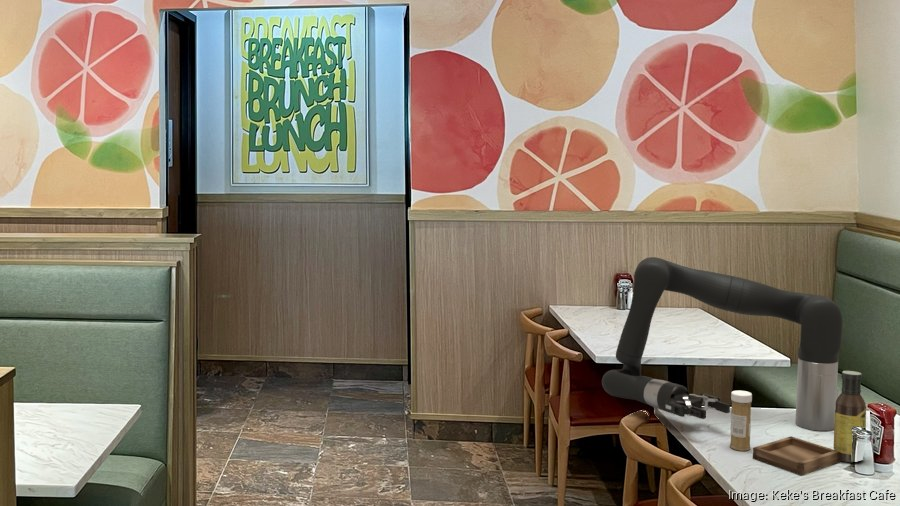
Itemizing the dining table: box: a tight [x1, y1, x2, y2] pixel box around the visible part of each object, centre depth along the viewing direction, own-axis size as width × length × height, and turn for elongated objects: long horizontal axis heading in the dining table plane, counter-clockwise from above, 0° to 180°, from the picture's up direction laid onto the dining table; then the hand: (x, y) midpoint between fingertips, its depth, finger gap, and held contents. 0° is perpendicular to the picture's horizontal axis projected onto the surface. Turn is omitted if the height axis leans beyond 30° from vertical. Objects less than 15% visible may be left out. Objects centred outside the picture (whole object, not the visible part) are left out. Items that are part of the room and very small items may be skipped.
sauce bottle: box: [833, 370, 867, 463], centre depth 173 cm, size 6×6×20 cm
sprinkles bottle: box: [729, 389, 753, 452], centre depth 181 cm, size 5×5×13 cm
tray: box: [752, 436, 840, 476], centre depth 173 cm, size 14×12×2 cm
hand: (717, 411), depth 186 cm, fingers open, 8 cm apart
